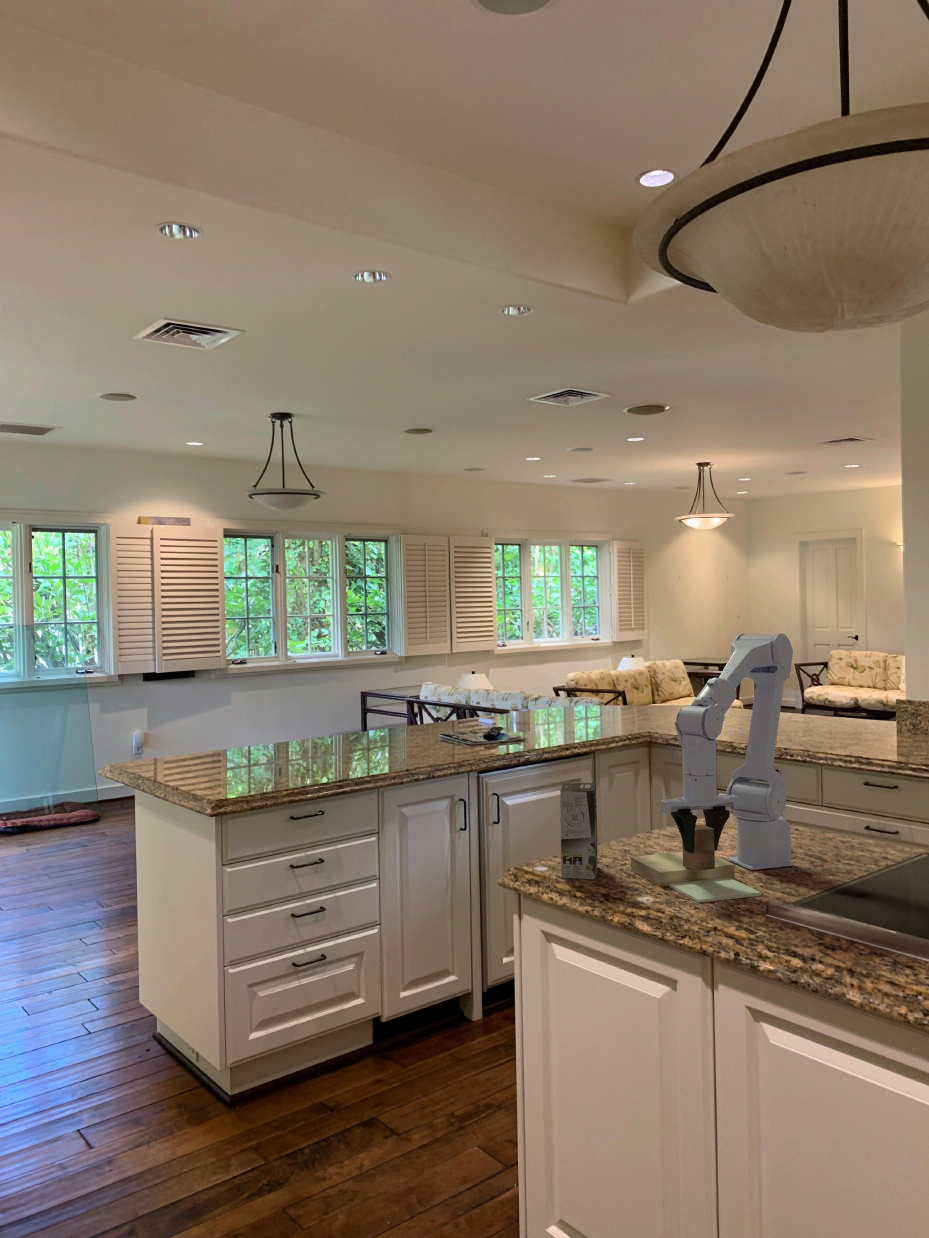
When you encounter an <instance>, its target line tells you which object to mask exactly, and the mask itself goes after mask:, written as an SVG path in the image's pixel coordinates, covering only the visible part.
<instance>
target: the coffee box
mask: <svg viewBox="0 0 929 1238" xmlns="http://www.w3.org/2000/svg"><path fill="white" fill-rule="evenodd" d="M559 790H560V857H561V858H560V862H561V863H560V865H561V866H560V867H561V868H560V871H561V874H560V876H561V878H563V879H575V880H576V879H577V880H580V879H581V880H593V881H594V880H595V879H596V875H597V870H598V866H599V865H598V819H597V818H598V817H597V815H598V814H597V783H596V782H574V783H571V782H564V783H563V784H562V786H561V789H559Z"/></svg>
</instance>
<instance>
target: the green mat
mask: <svg viewBox="0 0 929 1238" xmlns="http://www.w3.org/2000/svg"><path fill="white" fill-rule="evenodd" d="M668 887H669V888H671V889H673V890H674V891H677V893H680V894H682V895H684V897H685V896H686V897H687V898H689V899H690V900H692V901H694V900H695V902H696V903H699V904H700V903H701V902H702V903H709V902H718V900H719V901H727V900H732V899H734V900H735V899H742V898H751V897H752V898H753V897H760V896H762V891H759V890H757V889H755V888H753V887H751V886H748V885H746V884H744V883H742V882H740V881H737V880H736V879H732V878H729V877H727V878H718V879H708V880H699V881H690V882H681V883H672V884H669V886H668Z"/></svg>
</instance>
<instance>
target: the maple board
mask: <svg viewBox="0 0 929 1238" xmlns="http://www.w3.org/2000/svg"><path fill="white" fill-rule="evenodd" d="M630 870H631V872H634V873H636V874H637V875H639V876H641V877H642V878H644V879H645V880H647V881H649V882H651V883H653V884H655V885H656V886H658V887H659V888H660V887H669V884H672V883H681V882H690V881H699V880H708V879H718V878H727V877H729V878H732V879H734V880H736V879H735V877H736V876H735V863H733V862H731V861H727V860H725V859H722V858H720V857H718V856H715V869H709V870H700V871H694V870H692V869H689V868H687V867H685V866H683V851H678V852H669V853H657V854H648V855H637V856H636V855H635V856H631V857H630Z"/></svg>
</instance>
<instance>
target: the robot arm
mask: <svg viewBox="0 0 929 1238" xmlns="http://www.w3.org/2000/svg"><path fill="white" fill-rule="evenodd" d="M730 645H731V646H730V654H731V656H730V657H729V660H728V661H727V663H726V665H725V666H724V668H723V670H722V672H721V673H720V675H719V676H718V677H713V678H710V679H708V681H707V682H706V684H705V685H704V686H703V688H702V689H701V691H700V692H699V693H698V695H696V697H695V699H694V700H693V701H692V702H691V704H690V705H688V704H687V705H684V706H683V707H682V708H680V709H679V710H678V712H677V715H676V718H675V721H674V728H675V731H676V734H677V735H678V738H679V739H678V742H679V743H678V744H679V745H680V747H681V748H682V749H681V750H682V788H683V789H682V793H683V796H680V797H675V798H674V797H673V798H670V799H668V798H667V799H662V800H660V812H662V813H664V814H670V815H671V816H672V818H673V820H674V822H675V824H676V826H677V828H678V831H679V834H680V837H681V840H682V841H683V845H684V850H685V851H687V852H689V853H694V848H695V840H694V834H695V826H696V825H697V820H698V816H697V815H695V814H693V811H697V810H698V811H701V810H702V812H703V816H704V821H705V826H707V827H710V828H713V829H714V851H716V852H717V851H718V847H719V842H720V839H721V835H722V832H723V831H724V830H723V829H724V827H725V825H726V823H727V821H728V819H729V818H730V815H731V811H732V816H733V817H736V856H729V857H727V860H728V862H731V863H733V864H737V865H738V866H740V867H743V868H746V869H748V870H750V871H753V870H754V871H755V870H756V871H757V870H764V869H765V870H766V869H775V868H782V867H784V868H785V867H792V866H794V865H795V864H794V862H792V847H791V846H792V845H791V844H792V842H791V840H792V839H791V838H792V837H791V836H792V835H791V829H790V826H789V822H788V821H787V819H786V818H784V817H783V816H782V814H783V813H784V811H785V810H786V806H787V796H786V780H785V779H784V778H783V776H782V775H781V774H779V772H777V771H776V769H775V768H774V762H775V753H776V747H777V746H776V745H777V741H778V740H777V738H778V731H779V726H780V725H779V724H780V716H781V708H782V702H783V693H784V685H785V681H787V680H788V679H790V674H791V670H792V669H791V668H792V662H793V661H792V660H793V657H794V656H793V655H794V650H793V646H792V644H791V641H790V638H789V637H788V636H787V634H785V633H781V632H780V633H775V634H774V633H767V634H765V633H764V634H759V633H757V634H755V633H753V634H752V633H751V634H750V633H749V634H747V633H739V634H738V633H737V635H736V636H735V638H734V639H733V641H732V642H731V644H730ZM745 678H748V679H750V680H752V681H753V682H754V684H755V688H754V696H753V701H752V702H753V703H752V708H751V709H752V711H751V716H750V718H751V720H750V725H749V726H750V727H749V732H748V740H747V748H746V753H745V759H744V763H743V764H742V765H741V766H739V767H738V768H736V769H735V770H733V771H732V773H731V778H730V781H729V784H728V786H727V788H726V791H725V793H726V794H722V795H721V794H718V793H717V748H716V747H717V744H716V743H717V742H716V739H717V738H718V737H720V735H721V733H722V730H723V725H724V721H725V718H726V716H725V715H726V713H727V712H728V711H729V709H730V707H731V706H732V705H733V703H734V702H735V700H736V698H737V691H736V688H737V687H738V686H739V685H740V684H741V683H742V681H744V680H745ZM756 781H757V782H756ZM727 808H728V809H729V810H728V809H727ZM682 841H681V842H682Z"/></svg>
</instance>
